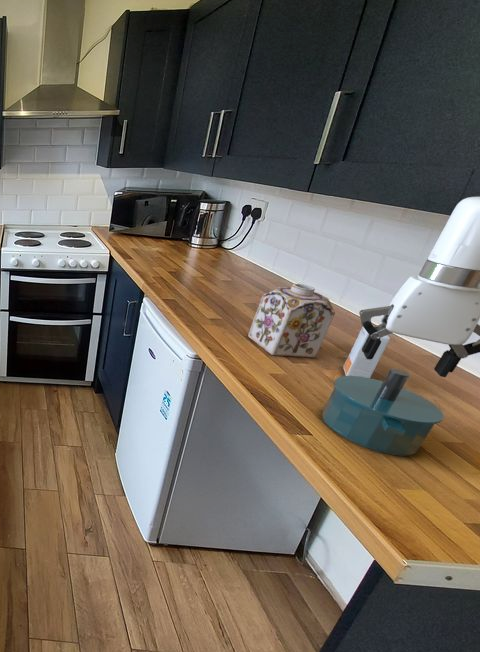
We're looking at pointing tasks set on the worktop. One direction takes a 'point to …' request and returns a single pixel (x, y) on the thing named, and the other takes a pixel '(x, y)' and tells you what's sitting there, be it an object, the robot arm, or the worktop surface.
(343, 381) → the lid
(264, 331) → the decorative jar
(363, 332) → the cosmetic box
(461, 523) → the worktop surface
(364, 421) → the pot
